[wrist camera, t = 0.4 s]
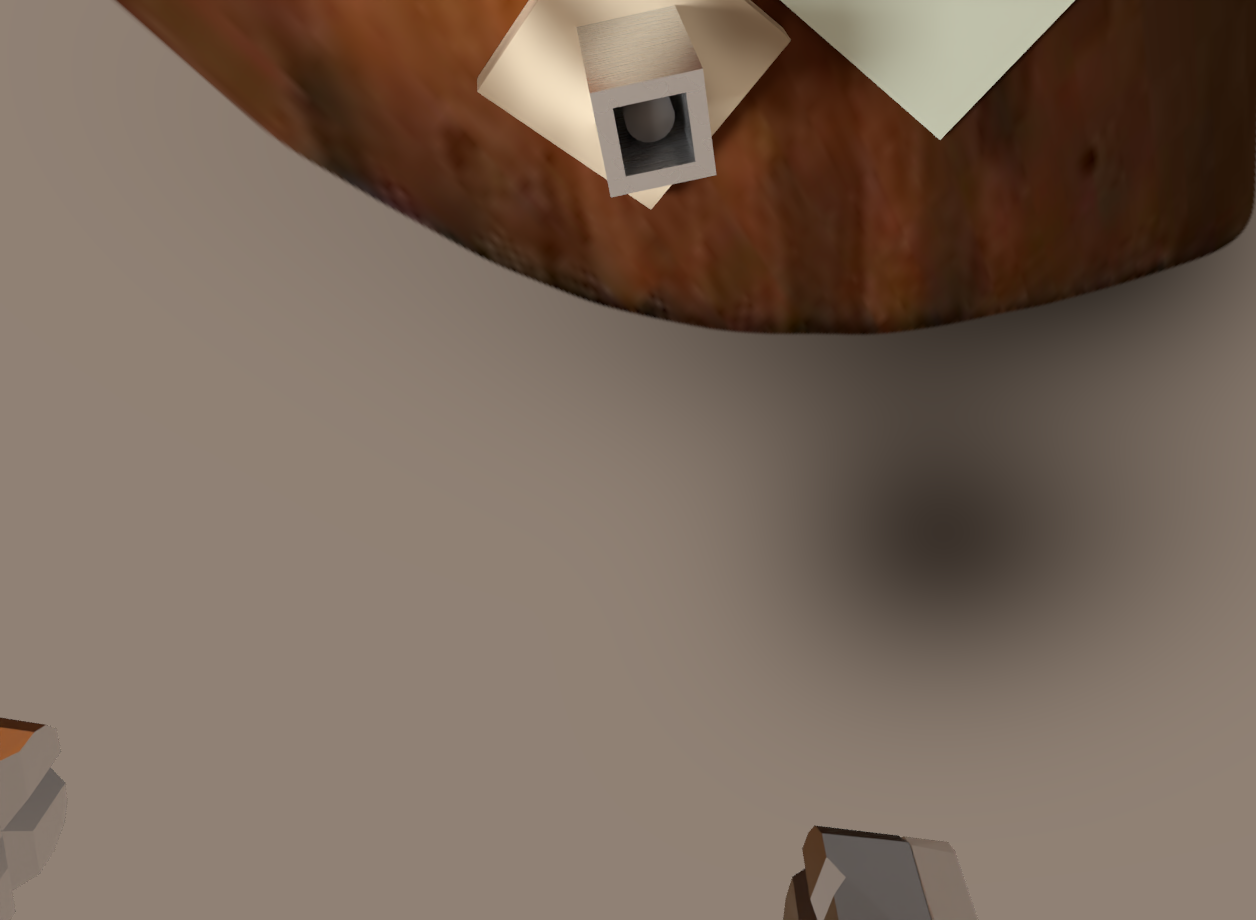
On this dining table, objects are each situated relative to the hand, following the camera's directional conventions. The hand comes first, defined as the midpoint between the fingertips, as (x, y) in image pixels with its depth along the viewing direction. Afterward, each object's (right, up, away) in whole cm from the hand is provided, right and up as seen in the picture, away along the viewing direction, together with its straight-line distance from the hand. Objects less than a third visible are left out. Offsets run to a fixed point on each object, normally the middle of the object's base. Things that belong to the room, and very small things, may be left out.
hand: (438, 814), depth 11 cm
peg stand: (+2, +26, +44) cm, 51 cm away
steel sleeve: (+2, +25, +43) cm, 49 cm away
